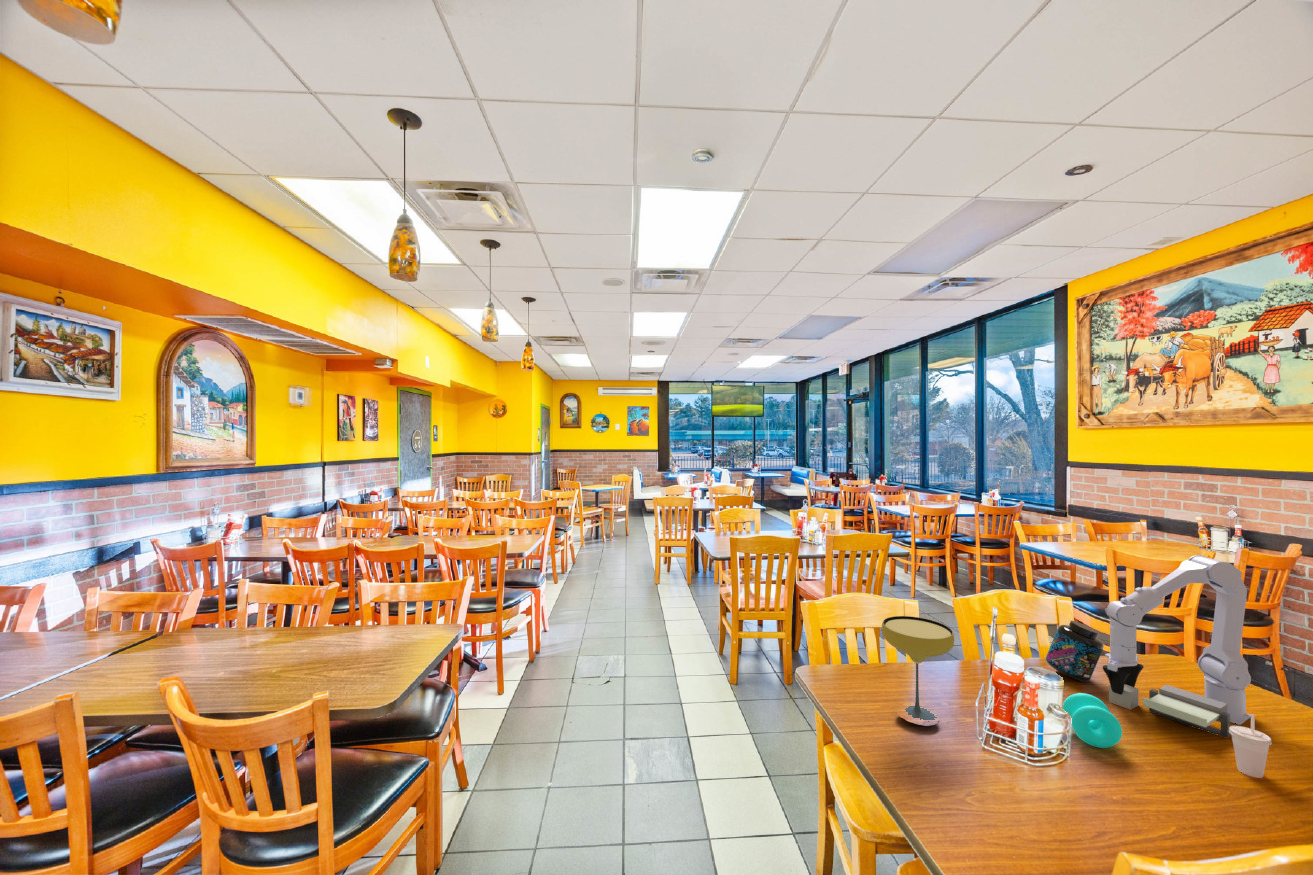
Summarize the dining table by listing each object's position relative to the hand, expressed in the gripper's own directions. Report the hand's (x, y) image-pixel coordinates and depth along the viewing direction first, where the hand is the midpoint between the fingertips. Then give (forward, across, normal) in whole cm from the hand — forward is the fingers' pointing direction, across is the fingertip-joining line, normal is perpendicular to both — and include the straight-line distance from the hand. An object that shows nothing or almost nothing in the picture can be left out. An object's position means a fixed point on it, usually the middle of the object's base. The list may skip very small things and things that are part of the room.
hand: (1123, 690), depth 148 cm
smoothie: (+4, +15, +28) cm, 32 cm away
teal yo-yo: (+4, +30, +4) cm, 30 cm away
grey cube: (+4, 0, 0) cm, 4 cm away
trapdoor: (-1, -2, +13) cm, 13 cm away
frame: (+4, -2, +13) cm, 14 cm away
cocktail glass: (+4, +60, -24) cm, 65 cm away
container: (+4, -7, -15) cm, 17 cm away
